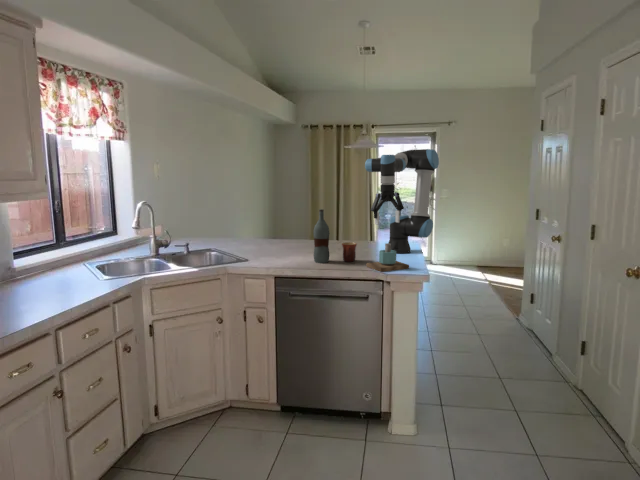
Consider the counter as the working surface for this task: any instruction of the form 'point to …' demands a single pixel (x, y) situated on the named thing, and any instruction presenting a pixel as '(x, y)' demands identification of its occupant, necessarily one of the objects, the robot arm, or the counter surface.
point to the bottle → (321, 240)
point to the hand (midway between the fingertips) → (387, 223)
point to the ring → (387, 257)
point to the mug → (349, 251)
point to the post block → (387, 267)
